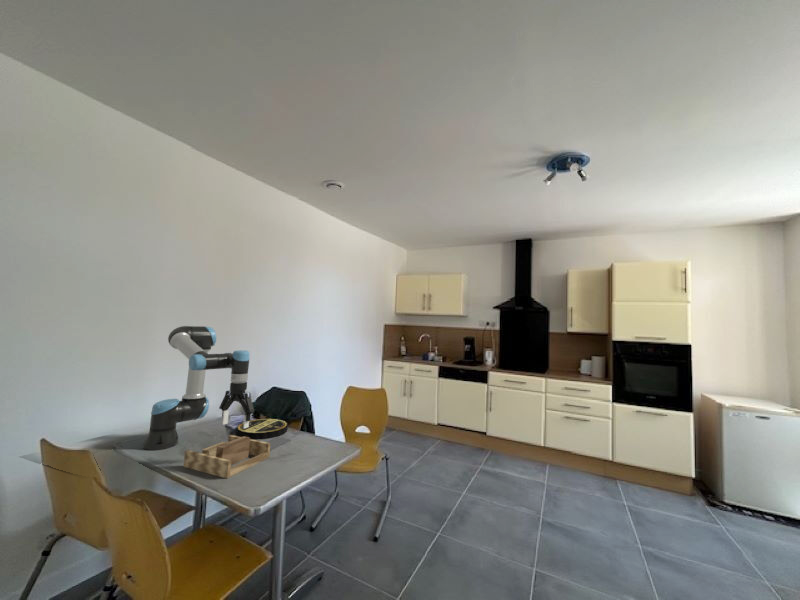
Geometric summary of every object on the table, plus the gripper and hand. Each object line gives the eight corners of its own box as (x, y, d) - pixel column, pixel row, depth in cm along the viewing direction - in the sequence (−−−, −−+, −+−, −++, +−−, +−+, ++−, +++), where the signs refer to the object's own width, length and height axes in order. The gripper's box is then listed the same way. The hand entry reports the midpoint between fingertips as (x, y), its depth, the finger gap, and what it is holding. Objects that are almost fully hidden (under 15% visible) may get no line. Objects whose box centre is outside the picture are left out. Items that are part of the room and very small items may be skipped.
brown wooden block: (214, 468, 147) (216, 446, 148) (242, 456, 162) (244, 436, 163) (221, 470, 145) (223, 447, 146) (248, 457, 160) (250, 437, 161)
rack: (183, 466, 147) (185, 451, 148) (229, 448, 171) (230, 434, 172) (226, 478, 138) (228, 461, 139) (269, 457, 162) (270, 443, 162)
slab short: (201, 456, 154) (202, 449, 154) (222, 447, 165) (223, 441, 165) (208, 457, 152) (209, 451, 153) (229, 449, 164) (229, 443, 164)
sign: (257, 416, 218) (296, 421, 212) (256, 422, 218) (296, 427, 212) (225, 429, 189) (270, 435, 183) (224, 436, 189) (269, 442, 183)
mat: (251, 449, 171) (251, 447, 171) (277, 437, 190) (277, 436, 190) (266, 452, 168) (266, 451, 168) (290, 440, 187) (291, 439, 187)
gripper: (213, 380, 158) (209, 424, 156) (252, 385, 150) (248, 431, 147) (226, 378, 165) (222, 420, 163) (264, 383, 157) (260, 427, 154)
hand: (235, 426), depth 155 cm, fingers open, 13 cm apart
